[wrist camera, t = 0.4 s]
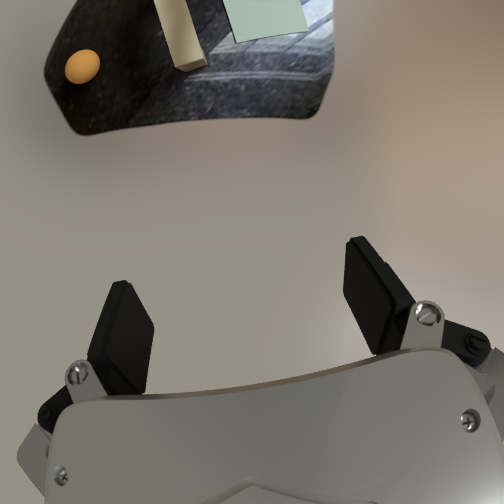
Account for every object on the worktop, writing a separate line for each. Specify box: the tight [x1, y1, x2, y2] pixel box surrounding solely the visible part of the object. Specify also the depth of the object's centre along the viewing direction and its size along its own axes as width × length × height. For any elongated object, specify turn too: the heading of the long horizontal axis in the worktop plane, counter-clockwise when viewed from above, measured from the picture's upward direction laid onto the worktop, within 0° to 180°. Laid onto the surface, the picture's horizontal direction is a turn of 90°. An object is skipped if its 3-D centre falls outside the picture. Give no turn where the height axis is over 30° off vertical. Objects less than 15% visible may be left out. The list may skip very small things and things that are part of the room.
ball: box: [65, 50, 100, 84], centre depth 24 cm, size 5×5×5 cm
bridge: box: [154, 0, 207, 72], centre depth 22 cm, size 3×14×9 cm, turn 15°
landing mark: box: [223, 0, 309, 43], centre depth 25 cm, size 10×10×1 cm
